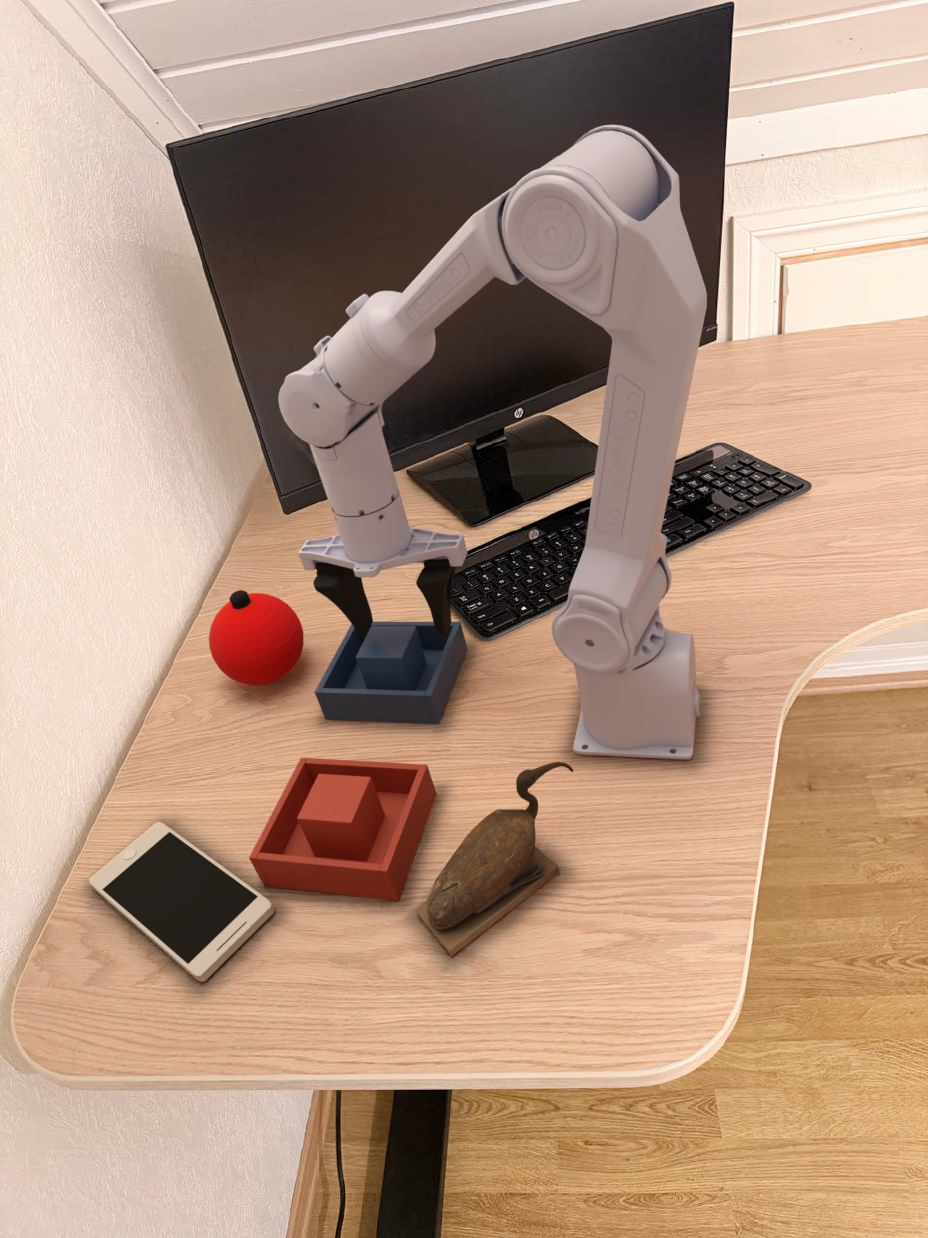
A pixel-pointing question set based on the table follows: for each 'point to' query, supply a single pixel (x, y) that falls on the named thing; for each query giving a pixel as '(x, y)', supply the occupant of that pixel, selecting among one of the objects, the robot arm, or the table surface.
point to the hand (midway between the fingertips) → (405, 628)
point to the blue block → (391, 658)
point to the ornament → (256, 638)
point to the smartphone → (182, 899)
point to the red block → (341, 816)
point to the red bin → (382, 876)
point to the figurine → (489, 871)
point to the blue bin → (426, 705)
